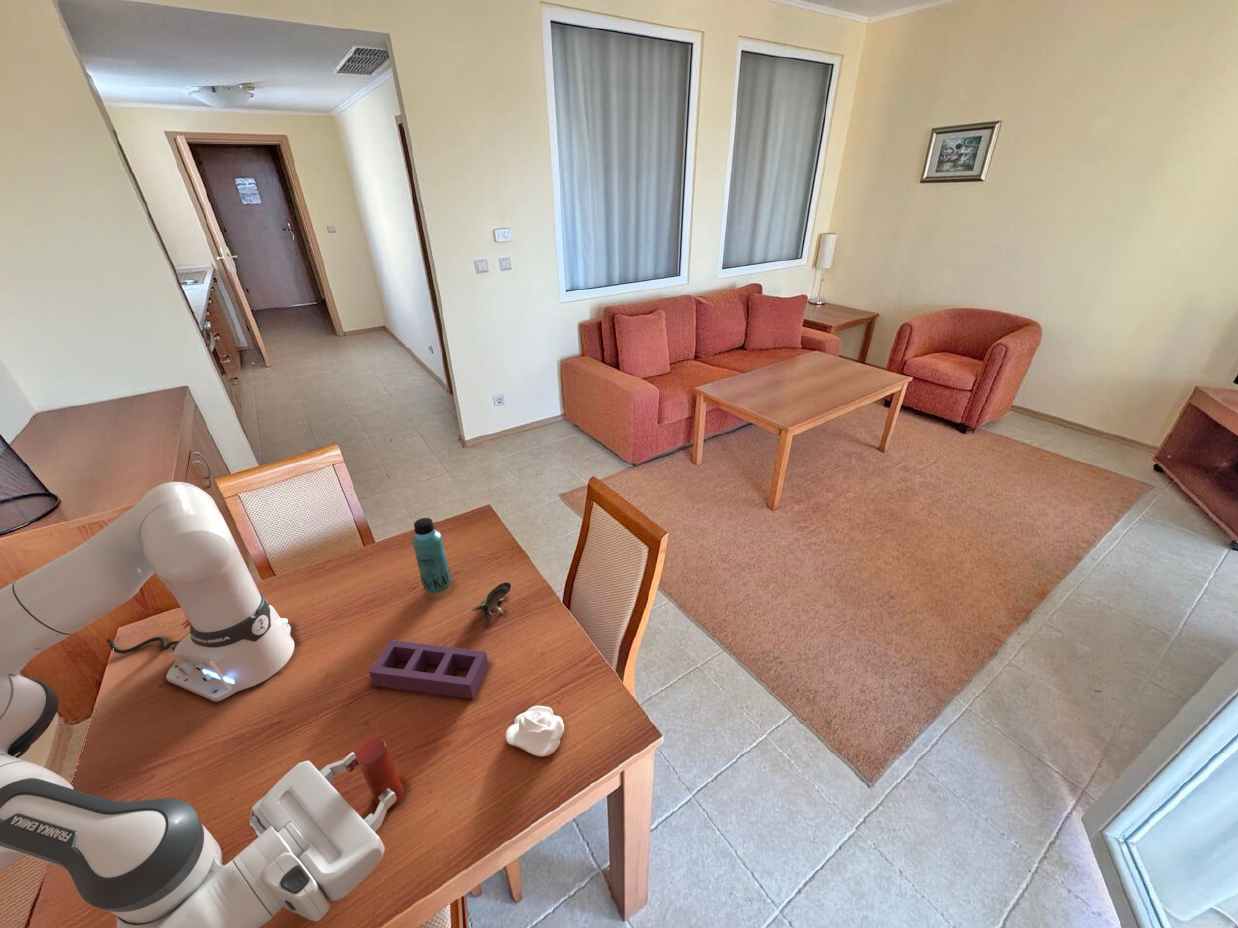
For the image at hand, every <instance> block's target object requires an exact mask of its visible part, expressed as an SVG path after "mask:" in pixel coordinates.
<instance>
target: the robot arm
mask: <svg viewBox="0 0 1238 928" xmlns="http://www.w3.org/2000/svg"><path fill="white" fill-rule="evenodd" d="M154 574H155V575H157V577H158V578H159V580H160V581H161V583H162V584H163V585H164V586H165V587H166V589H167V590H168V591H169V592H170V593H171V594H172V596H173V597H174V598H175V600H176V602H177V603H178V605H179V607H180V608H181V610H182V612H183V614H184V615H185V617H186V618H187V619H186V620H185V621H184V622H182V624H180V626H182V627H183V628H182V629H183V630H185V629H187V628H188V627H189V632H187V633H186V634H185V635H184V636H183V637H182V638H181V639H179V640H173V641H169V642H168V643H167V641H166V639H165V638H164V637H162V636H154V637H151V638H149V639H147V640H144V641H142V642H141V643H139V644H137V645H134V646H132V647H130V648H126V649H121V648H118V647H117V646H116V644H115V641H114V639H113V638H112V637H109V638H107V639H106V643H108V645H109V647H110V649H111V650H112V651H113V652H114V653H116V654H128V653H131V652H134V651H136V650H138V649H140V648H142V647H144V646H146V645H148V644H150V643H152V642H156V641H158V642H160V643H161V648H162V649H164V650H168V649H170V648H171V650H172V652H173V653H172V656H173V659H174V662H173V663H172V665H171V666H170V668H169V670H168V672H167V673H166V676H165V678H166V680H167V682H168V683H171V684H173V685H175V686H178V687H179V688H182V689H184V690H187V691H189V692H192V693H193V694H196V695H198V696H201V697H202V698H205V699H208V700H210V701H213V702H220V701H223V700H225V699H227V698H229V697H230V696H232V695H234V694H235V693H238V692H240V691H243V690H246V689H249V688H253V687H255V686H257V685H259V684H261V683H263V682H264V681H267V680H269V678H272V677H273V676H275V674H276V673H278V672H279V671H280V670H282V669H283V667H284V666H286V665H287V663H288V662H289V661H290V659H291V657H292V656H293V654H294V651H295V647H296V646H295V641H294V639H293V637H292V635H291V632H292V627H291V624H289V621H288V619H287V618H281V617H280V616H279V613H277V611H276V609H275V608H274V607H273V606H272V605H270V604H269V602H268V599H267V598H266V597H265V596H264V594H263V593H262V592H261V591H259V589H258V586H257V584H256V583H255V580H254V579H253V576H252V574H251V572H250V570H249V568H248V566H247V564H246V562H245V560H244V558H243V556H242V554H241V552H240V549H239V548H238V545H237V543H236V541H235V539H234V537H233V535H232V533H231V530H230V529H229V527H228V525H227V522H226V521H225V519H224V516H223V514H222V512H221V511H220V510H219V508H218V506H217V504H216V502H215V500H214V499H213V497H212V496H211V495H209V494H208V493H207V492H206V491H204V490H203V489H201V488H200V487H198V486H196V485H194V484H191V483H188V482H185V481H183V482H182V481H170V482H169V481H168V482H164V483H162V484H159V485H157V486H154V487H152V488H151V489H150V490H148V492H146V493H145V494H144V496H143V497H142V498H141V499H140V500H139V501H138V502H137V503H136V504H135V505H133V506H132V507H131V508H129V509H128V510H126V511H125V512H124V513H122V514H121V515H120V516H118V517H117V518H115V519H114V520H113V521H111V522H110V523H109V524H107V525H106V526H105V527H103V528H101V530H99V531H98V532H96V534H94V535H93V536H91V537H90V538H89V539H87V540H85V541H83V543H81V544H80V545H78V546H76V547H74V548H73V549H71V550H70V551H67V552H66V553H64V554H62V555H60V556H59V557H57V558H55V559H53V560H52V561H50V562H48V563H46V564H44V565H42V566H41V567H39V568H37V569H35V570H33V571H32V572H30V573H28V574H26V575H24V576H22V577H20V578H18V579H17V580H15V581H13V582H11V583H9V584H8V585H5V586H4V587H2V588H1V589H0V870H1V869H4V868H6V867H9V866H11V865H13V864H15V863H17V862H18V861H20V860H22V859H24V858H25V857H30V858H33V859H36V860H39V861H42V862H45V863H49V864H52V865H54V866H58V867H59V868H63V869H65V870H67V872H68V873H69V875H70V877H71V879H72V881H73V883H74V886H75V889H76V890H77V892H78V894H79V895H80V897H81V899H83V900H84V901H85V903H87V904H89V905H91V906H93V907H94V908H97V909H101V910H103V911H107V912H109V913H111V914H113V915H114V916H116V917H115V918H116V928H261V927H262V926H264V925H266V924H267V923H268V922H269V921H271V920H272V919H273V918H274V917H275V916H276V915H277V914H278V913H279V912H280V911H281V910H282V909H285V910H287V911H290V912H292V913H294V914H296V915H299V916H301V917H303V918H305V919H307V920H309V921H311V922H319V921H320V920H321V919H322V918H324V917H325V915H327V913H328V912H329V910H330V908H331V904H330V901H331V902H336V901H339V900H341V899H343V898H345V897H346V896H348V895H349V894H350V893H351V892H352V891H354V890H355V889H356V888H357V887H358V886H359V885H360V884H361V883H362V882H363V881H364V880H365V879H366V878H367V877H368V876H369V875H370V874H371V873H372V872H373V871H374V870H375V869H376V868H377V867H378V866H379V864H380V863H381V862H382V860H383V858H384V854H385V850H386V847H385V845H384V842H383V841H382V839H381V838H380V836H379V835H378V834H377V833H376V832H377V831H378V830H379V829H380V828H381V826H382V824H383V822H384V819H385V817H386V814H387V812H388V810H389V809H390V808H389V807H390V806H391V805H392V804H393V803H394V802H395V801H396V799H397V797H396V794H395V793H394V792H393V791H392V790H391V789H390V788H387V789H386V790H385V791H384V793H382V794H381V795H380V796H379V797H378V799H379V801H380V803H379V805H378V806H377V808H376V810H375V811H374V813H372V812H371V813H369V814H368V815H367V816H366V817H365V818H363V817H362V816H361V815H360V814H359V813H358V812H357V811H356V810H355V809H354V807H352V806H351V805H350V803H348V801H347V800H346V799H345V798H344V797H343V796H342V795H341V794H340V792H338V790H337V789H336V788H335V787H334V785H332V782H334V780H335V779H336V776H337V775H338V774H342V773H343V772H346V771H348V772H349V773H352V772H353V771H354V770H355V768H357V767H358V766H359V764H358V762H357V759H356V754H357V753H354V751H352V752H350V753H349V754H348V755H346V756H345V757H344V758H343V759H342V760H337V761H334V762H332V763H329V764H326V766H324V767H323V768H321V769H320V770H318V769H317V768H316V766H315V765H314V764H313V763H312V762H311V761H310V760H304V761H301V762H298V763H297V764H295V766H294V767H292V768H291V769H289V771H288V772H287V773H285V774H284V775H283V776H282V777H281V778H280V779H279V780H278V781H277V782H276V783H275V784H274V785H273V786H272V787H271V788H270V789H269V790H268V792H266V794H265V795H264V796H263V797H261V798H260V799H259V800H258V801H256V802H255V804H253V806H252V807H251V810H250V812H249V818H248V820H247V824H248V826H249V827H250V828H251V829H252V830H253V831H254V834H255V835H256V838H255V839H254V840H253V841H251V843H249V844H248V845H247V846H246V847H245V848H244V849H242V851H240V852H239V853H238V854H237V855H236V856H235V857H233V858H232V859H231V860H230V861H229V862H228V863H224V860H223V853H222V849H221V846H220V844H219V842H218V841H217V840H216V839H215V838H214V837H213V835H212V834H211V833H210V831H209V830H208V829H207V828H206V827H205V825H204V824H203V823H202V820H201V819H200V816H199V815H198V813H197V811H196V809H195V808H194V806H192V805H191V804H190V803H188V802H187V801H185V800H183V799H179V798H174V797H161V798H160V797H159V798H150V799H143V800H134V801H118V800H112V799H108V798H104V797H100V796H98V795H94V794H91V793H87V792H83V791H80V790H77V789H74V786H73V785H72V784H71V783H70V782H68V781H67V780H66V779H65V778H63V777H62V776H61V775H59V774H57V773H56V772H55V771H52V770H50V769H49V768H45V767H44V766H42V765H40V764H37V763H34V762H31V761H29V760H25V759H21V758H20V757H21V756H23V755H25V753H27V752H28V751H29V749H30V748H31V746H32V745H33V744H34V743H35V742H36V741H37V740H39V739H40V737H41V736H42V735H43V734H44V733H45V732H46V731H47V730H48V728H49V727H50V725H51V724H52V722H53V720H54V719H55V718H56V717H55V716H57V715H56V714H57V713H58V710H59V707H60V697H59V695H58V693H57V691H56V690H55V688H53V687H52V686H50V685H48V684H47V683H46V682H43V681H41V680H39V679H36V678H33V677H31V678H30V677H24V676H22V675H19V674H20V673H21V672H22V670H23V669H24V668H25V667H26V666H27V664H29V662H31V661H32V660H33V659H34V658H35V657H37V655H39V654H40V653H41V652H44V651H46V650H47V649H50V648H52V647H53V646H56V645H57V644H59V643H61V642H62V641H64V640H66V639H67V638H70V637H71V636H73V635H75V634H76V633H78V632H79V631H81V630H82V629H85V628H86V627H88V626H89V625H92V623H95V622H96V621H98V620H100V618H102V617H105V616H106V615H108V614H110V613H111V612H112V611H114V610H116V609H117V608H120V607H121V606H122V605H125V604H126V603H128V602H129V601H131V599H132V598H134V597H135V596H136V595H137V593H138V592H139V591H140V589H141V588H142V587H143V585H144V584H145V583H146V582H147V581H148V580H149V579H150V578H151V577H152V576H153V575H154ZM114 646H115V647H114ZM171 646H172V647H171ZM113 648H114V650H113ZM388 808H389V809H388Z"/></svg>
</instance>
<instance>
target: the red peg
mask: <svg viewBox="0 0 1238 928" xmlns="http://www.w3.org/2000/svg"><path fill="white" fill-rule="evenodd" d="M355 754H356V759H357V762H358V764H359V765H358V766H359V769H360V770H361V773H362V775H363V777H364V779H365V781H366V782H365V783H366V784H367V786H368V788H369V790H370V792H371V796H372V797H373V799H374V802H375V803H376V806H377V807H378V805H379V803H380V801H379V799H378V797H379V796H380V795H381V794H382V793H384V791H385V790H386V789H387V788H390V789H391V790H392V791H393V792H394V793H395V794H396V797H397V799H396V801H395V802H394V803H393V804H392V805H391V806H390V807H389V808H388V809H387V810H389V809H391V808H393V807H395V806H396V805H397V804H398V803H399V802H400V800H401V799H402V797H403V794H404V787H403V784H402V782H401V779H400V777H399V774H398V771H397V769H396V767H395V763H394V762H393V759H392V756H391V754H390V751H389V749H388V746H387V744H386V741H385V740H384V739H383V738H382V737H381V738H380V737H372V738H370V739H368V740H366V741H365V742H363V743H362V744H361V745H360V746H359V747H358V748H357V751H356V753H355Z"/></svg>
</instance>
